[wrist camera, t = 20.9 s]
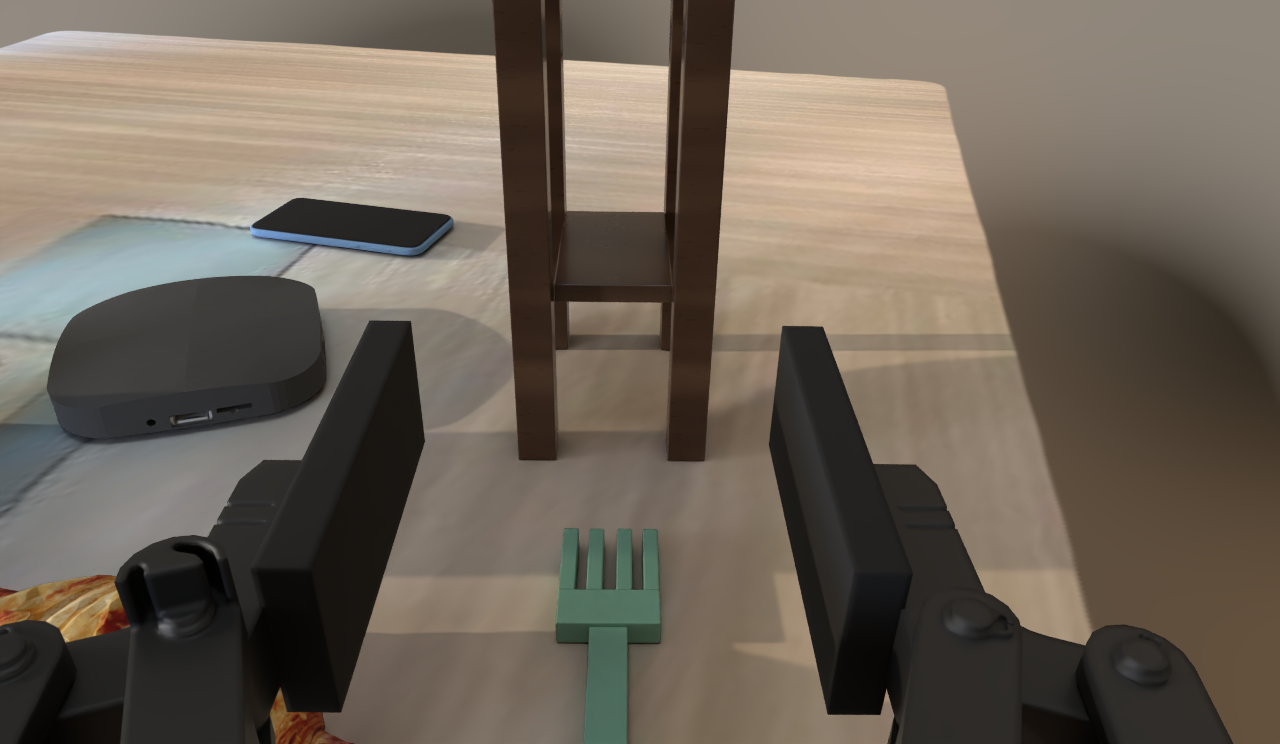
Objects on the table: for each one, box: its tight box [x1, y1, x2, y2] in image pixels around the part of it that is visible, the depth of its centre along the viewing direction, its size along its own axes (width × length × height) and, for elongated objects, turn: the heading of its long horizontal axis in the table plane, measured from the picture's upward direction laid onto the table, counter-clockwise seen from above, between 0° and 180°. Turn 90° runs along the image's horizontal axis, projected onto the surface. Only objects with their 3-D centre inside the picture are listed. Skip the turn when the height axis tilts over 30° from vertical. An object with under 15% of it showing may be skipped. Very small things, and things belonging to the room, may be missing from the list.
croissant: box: [0, 575, 354, 744], centre depth 34 cm, size 21×10×8 cm, turn 71°
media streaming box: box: [47, 276, 326, 438], centre depth 58 cm, size 15×15×3 cm
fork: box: [556, 528, 661, 744], centre depth 36 cm, size 22×4×1 cm, turn 1°
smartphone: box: [250, 198, 453, 255], centre depth 77 cm, size 7×1×15 cm
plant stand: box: [492, 0, 735, 461], centre depth 50 cm, size 14×10×30 cm
